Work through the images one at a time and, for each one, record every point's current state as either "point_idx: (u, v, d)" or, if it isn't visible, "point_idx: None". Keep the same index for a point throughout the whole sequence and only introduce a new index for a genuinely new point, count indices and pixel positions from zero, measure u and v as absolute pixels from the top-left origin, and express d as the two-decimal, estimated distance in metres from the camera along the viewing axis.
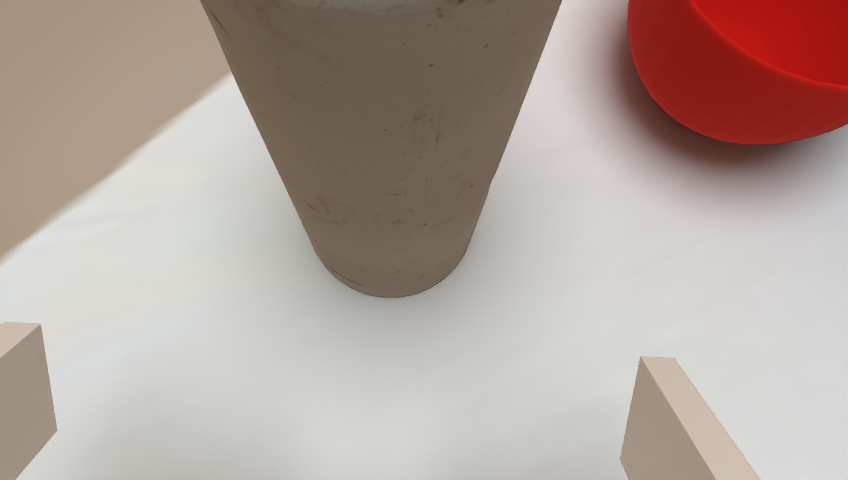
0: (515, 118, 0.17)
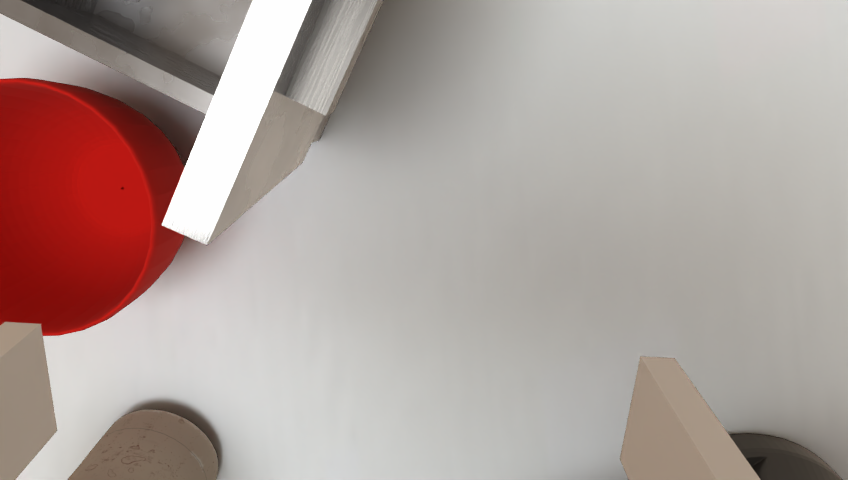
0: None
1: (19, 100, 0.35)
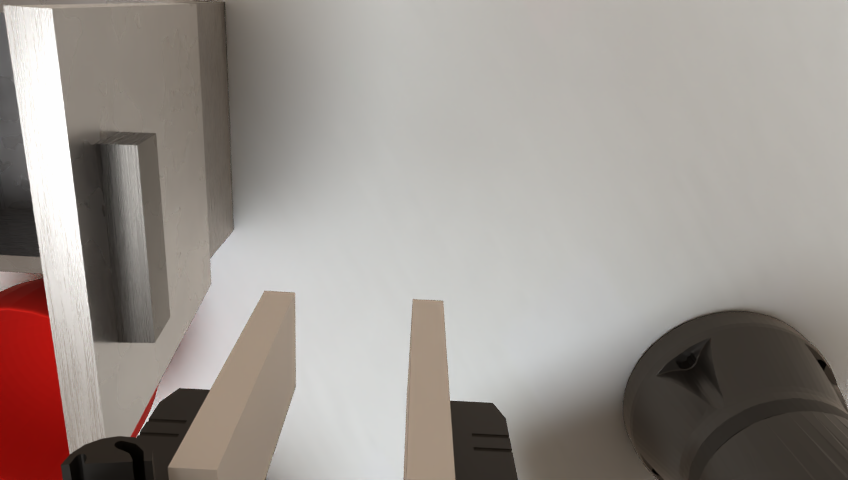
0: None
1: None
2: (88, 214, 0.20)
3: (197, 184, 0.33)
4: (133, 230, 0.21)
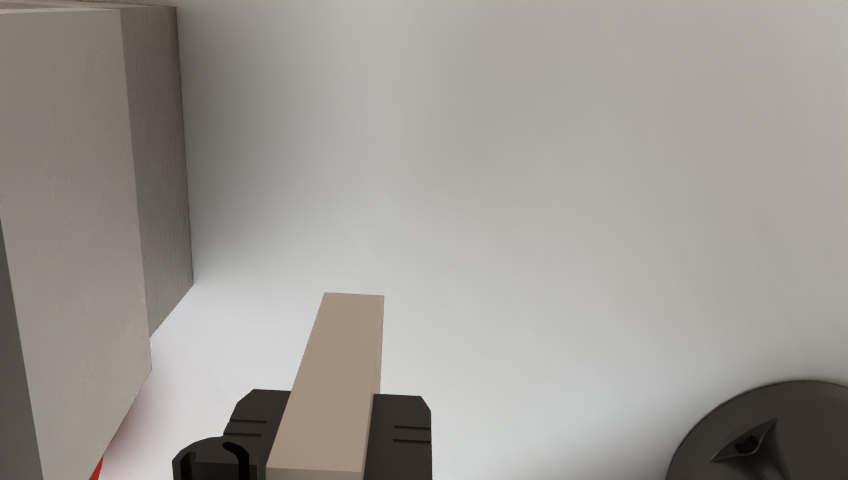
0: None
1: None
2: None
3: (124, 249, 0.25)
4: None
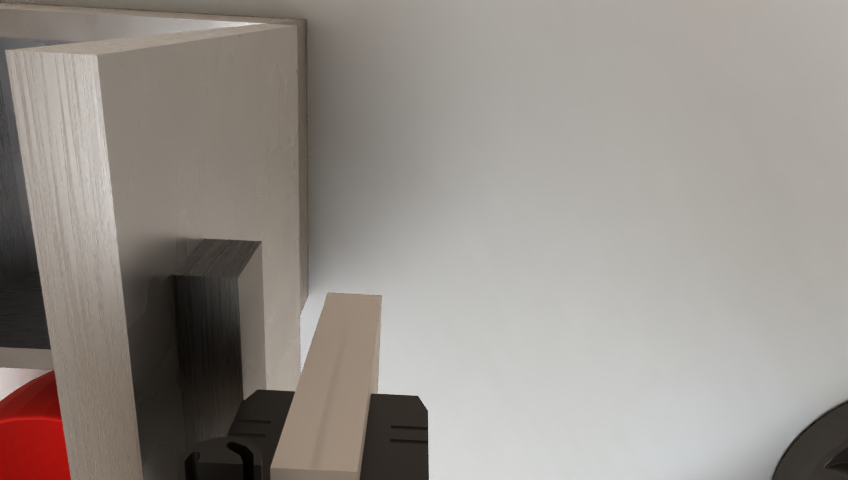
0: None
1: None
2: (154, 403, 0.11)
3: (291, 264, 0.25)
4: (225, 408, 0.13)
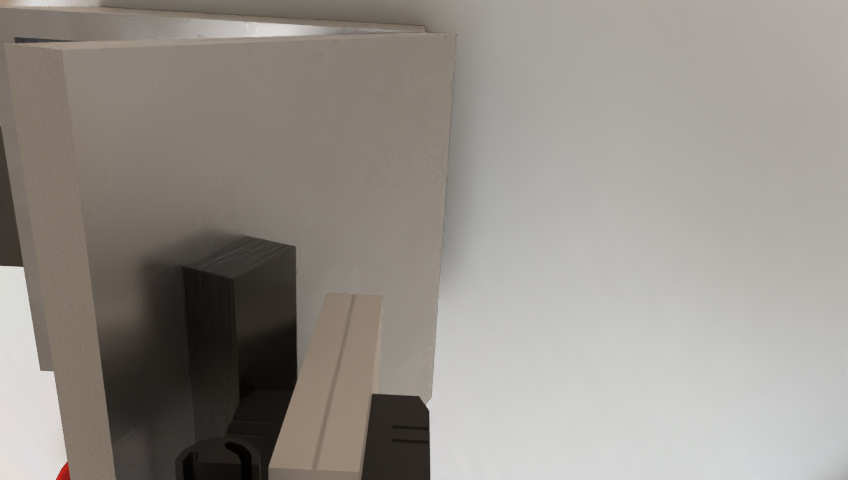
0: None
1: None
2: (138, 384, 0.12)
3: (422, 276, 0.25)
4: (225, 405, 0.13)
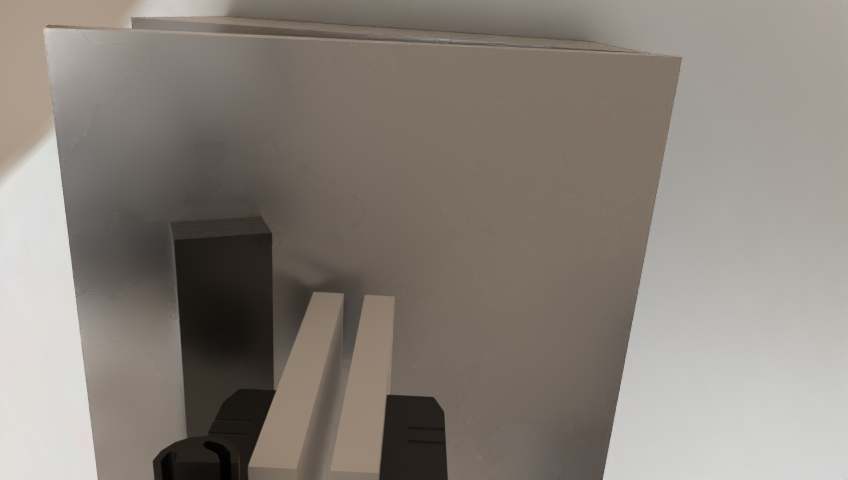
0: None
1: None
2: (113, 306, 0.15)
3: (586, 335, 0.21)
4: (180, 353, 0.15)
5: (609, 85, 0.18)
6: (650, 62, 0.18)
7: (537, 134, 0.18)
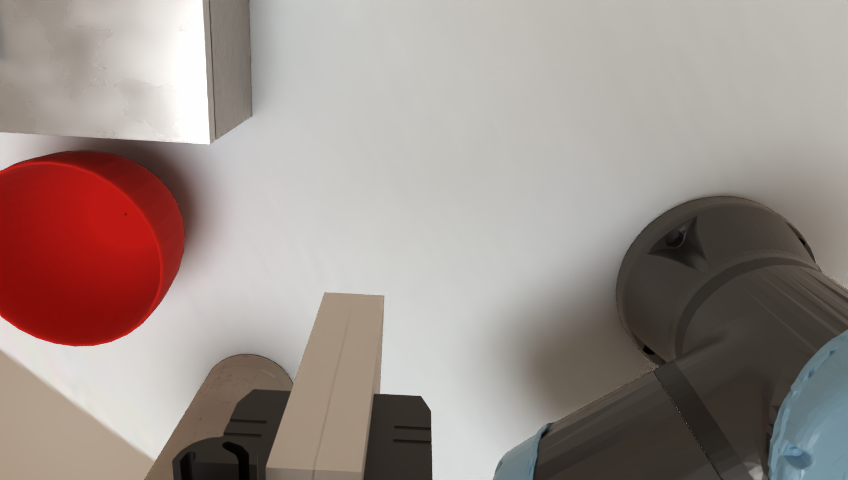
0: None
1: (19, 181, 0.44)
2: None
3: (171, 31, 0.37)
4: None
5: None
6: None
7: None
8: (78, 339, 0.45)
